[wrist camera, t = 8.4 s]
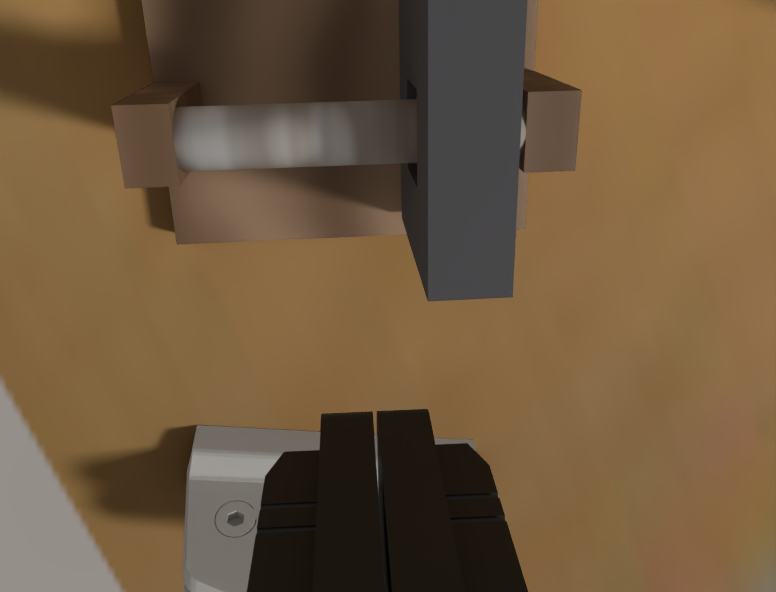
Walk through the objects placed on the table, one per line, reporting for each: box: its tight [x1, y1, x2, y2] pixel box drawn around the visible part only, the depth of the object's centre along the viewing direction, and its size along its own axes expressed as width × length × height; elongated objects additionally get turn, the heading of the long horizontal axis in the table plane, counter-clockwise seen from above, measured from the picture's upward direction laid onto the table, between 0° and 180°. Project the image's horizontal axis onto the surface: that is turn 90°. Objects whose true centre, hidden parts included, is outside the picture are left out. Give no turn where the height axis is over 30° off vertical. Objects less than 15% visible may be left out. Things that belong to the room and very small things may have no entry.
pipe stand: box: [111, 0, 582, 244], centre depth 30 cm, size 17×12×8 cm
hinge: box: [183, 425, 476, 592], centre depth 39 cm, size 17×5×10 cm, turn 83°
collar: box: [399, 0, 528, 301], centre depth 28 cm, size 3×10×10 cm, turn 1°
